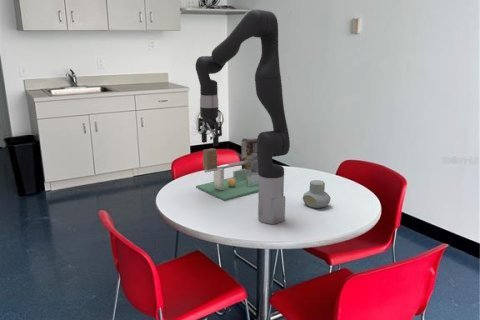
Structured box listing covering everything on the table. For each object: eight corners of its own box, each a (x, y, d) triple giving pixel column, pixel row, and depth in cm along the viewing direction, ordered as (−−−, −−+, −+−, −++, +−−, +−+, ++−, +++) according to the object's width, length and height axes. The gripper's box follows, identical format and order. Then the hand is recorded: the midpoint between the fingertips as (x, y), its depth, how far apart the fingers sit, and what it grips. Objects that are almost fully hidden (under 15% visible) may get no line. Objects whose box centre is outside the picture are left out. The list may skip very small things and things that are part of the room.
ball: (237, 186, 193) (237, 178, 191) (230, 188, 190) (230, 179, 189) (232, 184, 196) (232, 176, 195) (225, 186, 193) (225, 177, 192)
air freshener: (299, 204, 174) (300, 180, 172) (312, 199, 179) (313, 176, 177) (320, 212, 166) (321, 187, 163) (333, 207, 171) (334, 183, 169)
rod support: (263, 183, 200) (263, 155, 197) (259, 184, 199) (260, 156, 195) (254, 180, 205) (254, 152, 202) (250, 181, 204) (251, 153, 200)
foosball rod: (263, 179, 201) (264, 141, 196) (209, 193, 182) (208, 151, 178) (256, 177, 205) (257, 139, 200) (202, 190, 186) (201, 149, 182)
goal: (259, 184, 196) (259, 174, 194) (248, 187, 192) (248, 176, 190) (243, 178, 204) (243, 168, 203) (233, 181, 200) (233, 171, 199)
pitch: (267, 189, 192) (267, 187, 192) (224, 201, 178) (224, 198, 177) (237, 178, 209) (237, 176, 208) (196, 187, 194) (196, 185, 194)
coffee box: (259, 168, 225) (260, 138, 221) (259, 171, 219) (259, 141, 215) (242, 168, 226) (242, 138, 222) (241, 171, 220) (241, 140, 215)
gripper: (226, 107, 173) (227, 146, 177) (207, 103, 184) (207, 140, 188) (211, 108, 169) (212, 148, 173) (192, 104, 179) (193, 142, 184)
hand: (209, 144), depth 180 cm, fingers open, 8 cm apart
